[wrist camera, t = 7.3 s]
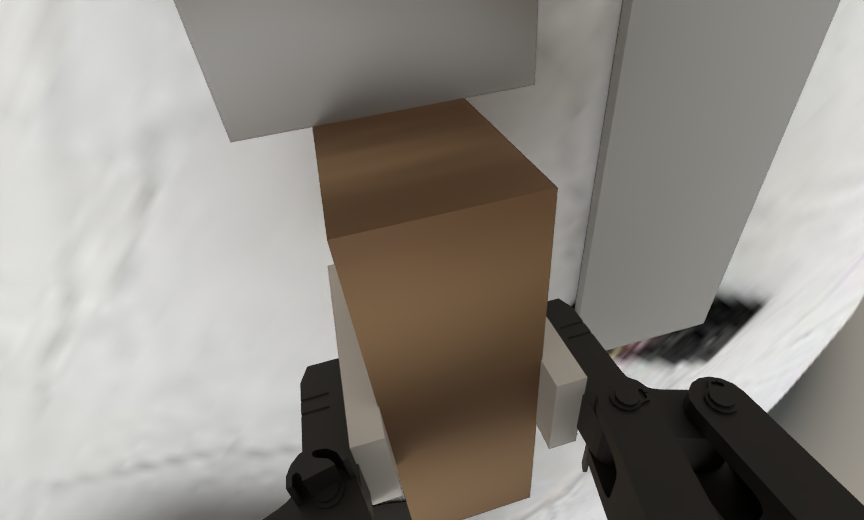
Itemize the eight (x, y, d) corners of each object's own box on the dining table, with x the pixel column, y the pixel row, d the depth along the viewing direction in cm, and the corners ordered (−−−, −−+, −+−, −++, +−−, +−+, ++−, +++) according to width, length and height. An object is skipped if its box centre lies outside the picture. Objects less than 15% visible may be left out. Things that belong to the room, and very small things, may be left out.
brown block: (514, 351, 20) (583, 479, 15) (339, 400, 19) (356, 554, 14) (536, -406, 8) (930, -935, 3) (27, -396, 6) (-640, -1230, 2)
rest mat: (697, 317, 31) (703, 323, 31) (567, 353, 30) (572, 359, 29) (880, -133, 16) (897, -135, 16) (639, -105, 15) (650, -106, 15)
